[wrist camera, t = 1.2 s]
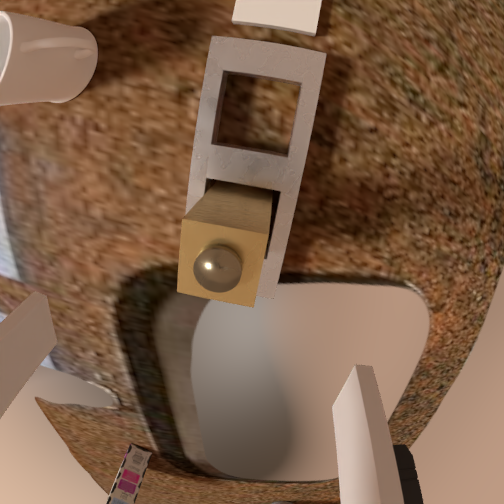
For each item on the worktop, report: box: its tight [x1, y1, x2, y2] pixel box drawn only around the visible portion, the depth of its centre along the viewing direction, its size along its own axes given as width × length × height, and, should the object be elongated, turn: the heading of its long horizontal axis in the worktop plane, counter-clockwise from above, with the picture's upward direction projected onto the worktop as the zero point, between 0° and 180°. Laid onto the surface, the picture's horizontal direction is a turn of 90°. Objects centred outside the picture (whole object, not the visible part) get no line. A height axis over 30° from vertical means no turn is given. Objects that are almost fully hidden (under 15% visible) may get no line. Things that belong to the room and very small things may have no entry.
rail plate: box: [185, 36, 326, 299], centre depth 26 cm, size 22×9×2 cm, turn 170°
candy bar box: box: [106, 444, 152, 504], centre depth 45 cm, size 11×5×16 cm, turn 156°
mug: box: [0, 11, 98, 106], centre depth 18 cm, size 12×8×12 cm
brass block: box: [177, 180, 273, 307], centre depth 23 cm, size 5×5×12 cm
